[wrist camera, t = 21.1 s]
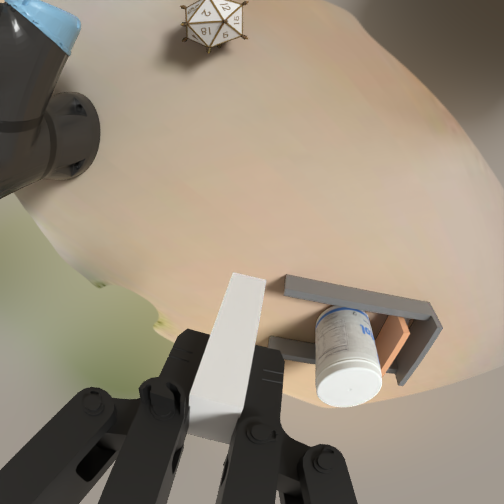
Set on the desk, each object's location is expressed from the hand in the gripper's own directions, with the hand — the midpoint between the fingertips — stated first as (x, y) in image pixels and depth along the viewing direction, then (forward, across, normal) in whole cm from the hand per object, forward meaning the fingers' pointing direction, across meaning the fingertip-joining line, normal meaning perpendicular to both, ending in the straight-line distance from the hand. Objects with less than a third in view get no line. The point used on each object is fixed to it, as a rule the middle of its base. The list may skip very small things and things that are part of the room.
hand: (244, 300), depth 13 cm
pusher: (+28, +26, -21) cm, 44 cm away
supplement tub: (+28, +17, -22) cm, 40 cm away
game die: (+29, -11, +19) cm, 36 cm away
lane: (+28, +18, -22) cm, 40 cm away
